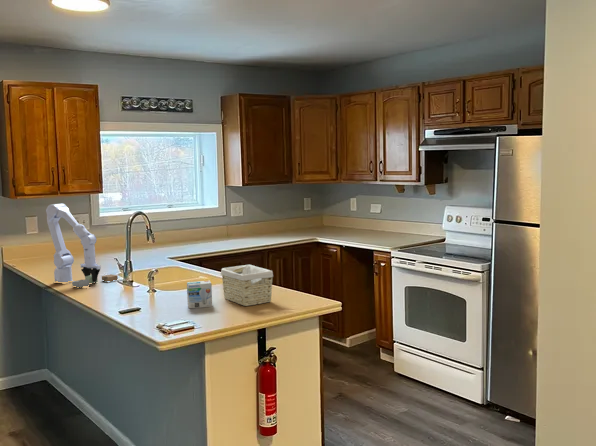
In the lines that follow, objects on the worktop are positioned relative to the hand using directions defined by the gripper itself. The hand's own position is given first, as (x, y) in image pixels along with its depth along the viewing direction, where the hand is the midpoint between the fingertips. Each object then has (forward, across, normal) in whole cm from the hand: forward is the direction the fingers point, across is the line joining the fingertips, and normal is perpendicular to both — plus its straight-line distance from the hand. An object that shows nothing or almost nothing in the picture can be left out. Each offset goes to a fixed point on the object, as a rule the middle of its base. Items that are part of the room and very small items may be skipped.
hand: (91, 281), depth 320 cm
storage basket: (+2, -102, -8) cm, 102 cm away
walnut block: (+2, -4, -9) cm, 10 cm away
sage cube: (+2, 0, 0) cm, 2 cm away
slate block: (+1, -3, +9) cm, 10 cm away
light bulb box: (+2, -89, +10) cm, 90 cm away
